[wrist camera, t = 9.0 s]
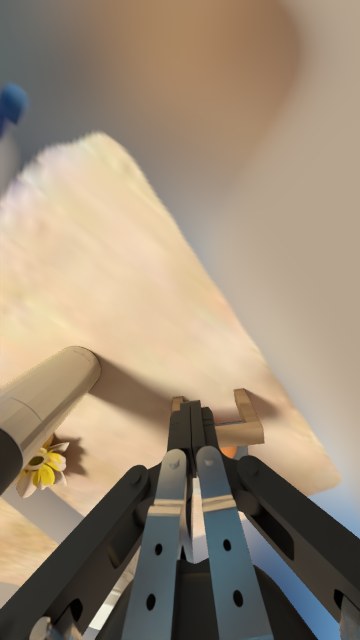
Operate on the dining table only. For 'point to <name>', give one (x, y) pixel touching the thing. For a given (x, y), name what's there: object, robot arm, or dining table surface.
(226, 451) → the ball
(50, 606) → the robot arm
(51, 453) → the decorative flower
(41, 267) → the dining table surface
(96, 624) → the supplement tub
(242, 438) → the bridge
